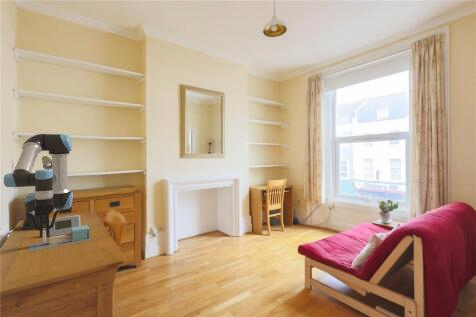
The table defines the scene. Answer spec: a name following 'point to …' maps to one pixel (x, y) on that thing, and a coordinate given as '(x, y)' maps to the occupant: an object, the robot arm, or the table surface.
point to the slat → (60, 239)
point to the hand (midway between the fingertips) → (44, 241)
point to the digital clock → (64, 225)
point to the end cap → (80, 233)
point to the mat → (47, 245)
